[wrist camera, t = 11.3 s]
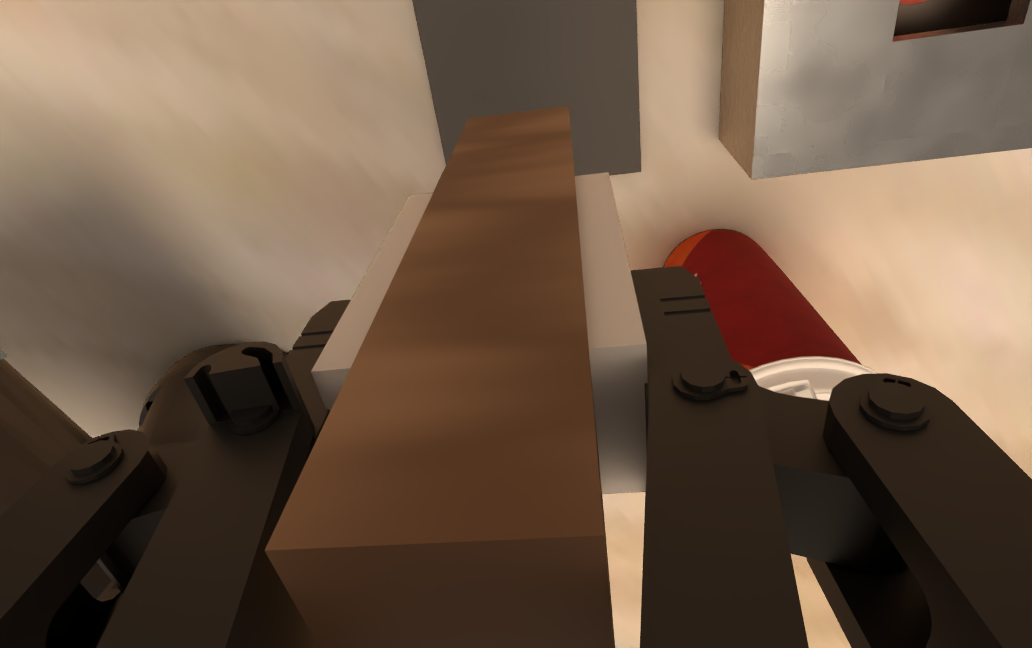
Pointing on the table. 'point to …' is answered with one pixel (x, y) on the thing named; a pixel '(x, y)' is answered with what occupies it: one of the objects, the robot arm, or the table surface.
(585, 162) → the pad
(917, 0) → the red button
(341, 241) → the table surface
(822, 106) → the grey block with hole
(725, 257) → the coffee cup
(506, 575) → the rod
